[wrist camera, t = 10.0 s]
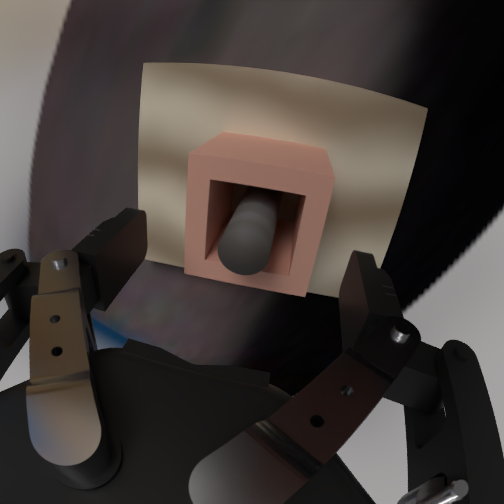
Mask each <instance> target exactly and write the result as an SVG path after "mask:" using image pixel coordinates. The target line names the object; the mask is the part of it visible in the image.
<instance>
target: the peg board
mask: <svg viewBox="0 0 504 504" xmlns="http://www.w3.org/2000/svg"><path fill="white" fill-rule="evenodd" d="M427 110H428V108H425V107H422V106H419V105H416V104H413V103H410V102H407V101H404V100H401V99H398V98H394V97H391V96H388V95H384V94H381V93H377V92H374V91H370V90H367V89H363V88H359V87H355V86H351V85H347V84H342V83H338V82H334V81H329V80H324V79H319V78H314V77H309V76H304V75H298V74H292V73H286V72H279V71H273V70H265V69H257V68H249V67H239V66H228V65H215V64H196V63H144V64H143V75H142V87H141V101H140V118H139V145H138V209H139V210H144V211H145V212H146V216H147V241H148V248H147V254H146V257H145V259H146V260H151V261H156V262H160V263H165V264H170V265H174V266H179V267H184V259H185V218H186V194H187V174H188V158H189V153H190V152H192V151H193V150H195V149H196V148H198V147H199V146H201V145H202V144H204V143H206V142H207V141H209V140H210V139H212V138H213V137H215V136H217V135H218V134H220V133H222V132H230V133H237V134H245V135H252V136H259V137H265V138H271V139H277V140H283V141H289V142H295V143H300V144H305V145H310V146H316V147H320V148H325V149H326V151H327V154H328V157H329V160H330V163H331V166H332V169H333V172H334V175H335V182H334V186H333V190H332V195H331V199H330V203H329V207H328V212H327V216H326V220H325V224H324V228H323V232H322V236H321V240H320V244H319V248H318V251H317V255H316V259H315V263H314V266H313V270H312V274H311V278H310V281H309V285H308V288H307V292H310V293H316V294H321V295H327V296H333V297H338V298H339V290H340V286H341V283H342V280H343V277H344V274H345V271H346V268H347V265H348V262H349V259H350V256H351V254H352V252H353V251H354V250H356V251H361V252H366V253H371V254H373V255H374V258H375V262H376V265H377V268H380V267H381V265H382V262H383V259H384V257H385V254H386V251H387V249H388V246H389V243H390V240H391V237H392V235H393V232H394V229H395V226H396V223H397V220H398V217H399V214H400V211H401V208H402V204H403V201H404V198H405V195H406V191H407V188H408V185H409V181H410V178H411V174H412V171H413V167H414V164H415V160H416V156H417V152H418V148H419V144H420V140H421V136H422V132H423V128H424V123H425V119H426V114H427ZM298 198H299V194H295V193H290V192H284V191H279V190H273V189H268V188H262V187H256V186H250V185H244V184H238V183H234V188H233V197H232V206H231V212H234V214H233V216H232V218H231V220H230V222H229V224H228V226H227V228H226V230H225V232H224V234H223V236H222V238H221V240H220V242H219V244H218V256H219V259H220V261H221V263H222V264H223V265H224V266H225V267H226V268H227V269H228V270H230V271H231V272H233V273H236V274H239V275H253V274H256V273H258V272H260V271H261V270H263V269H264V268H265V267H266V265H267V263H268V261H269V257H270V252H271V247H272V242H273V237H274V232H275V228H276V223H277V220H282V221H287V222H292V223H294V218H295V213H296V208H297V203H298Z"/></svg>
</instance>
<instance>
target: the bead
mask: <svg viewBox="0 0 504 504" xmlns="http://www.w3.org/2000/svg"><path fill="white" fill-rule="evenodd" d="M334 182H335V175H334V172H333V169H332V166H331V163H330V160H329V157H328V154H327V151H326V149H325V148H320V147H316V146H310V145H305V144H300V143H295V142H289V141H283V140H277V139H271V138H265V137H259V136H252V135H245V134H237V133H230V132H222V133H220V134H218V135H217V136H215V137H213V138H212V139H210V140H209V141H207V142H206V143H204V144H202V145H201V146H199V147H198V148H196V149H195V150H193V151H192V152H190V153H189V158H188V174H187V194H186V218H185V259H184V274H189V275H194V276H198V277H203V278H208V279H213V280H218V281H223V282H228V283H233V284H238V285H243V286H248V287H254V288H259V289H264V290H269V291H275V292H280V293H285V294H291V295H296V296H302V297H305V295H306V292H307V288H308V285H309V281H310V278H311V274H312V270H313V266H314V263H315V259H316V255H317V251H318V248H319V244H320V240H321V236H322V232H323V228H324V224H325V220H326V216H327V212H328V207H329V203H330V199H331V195H332V190H333V186H334ZM234 183H238V184H244V185H250V186H256V187H262V188H268V189H273V190H279V191H284V192H290V193H295V194H299V198H298V203H297V208H296V213H295V218H294V223H292V222H287V221H282V220H277V223H276V228H275V232H274V237H273V242H272V247H271V252H270V257H269V261H268V263H267V265H266V267H265V268H264V269H263V270H261V271H260V272H258V273H256V274H253V275H239V274H236V273H233V272H231V271H230V270H228V269H227V268H226V267H225V266H224V265H223V264H222V263H221V261H220V259H219V256H218V244H219V242H220V240H221V238H222V236H223V234H224V232H225V230H226V228H227V226H228V224H229V222H230V220H231V218H232V216H233V214H234V212H231V206H232V197H233V188H234Z"/></svg>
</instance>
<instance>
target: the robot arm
mask: <svg viewBox="0 0 504 504" xmlns="http://www.w3.org/2000/svg"><path fill="white" fill-rule="evenodd" d="M147 248H148V241H147V216H146V212H145V211H144V210H139V209H133V208H125V209H124V210H123V211H122V212H121V213H119V214H118V215H117V216H116V217H115V218H114V217H113V218H111V219H109V220H106V221H104V222H102V223H101V224H100V225H99V226H98V227H97V228H95V230H93V231H92V232H91V233H90V234H89V235H87V236H86V237H85V238H84V239H83V240H82V241H81V242H80V243H78V244H77V245H76V246H75V247H74V248H73V249H72V250H66V249H63V250H57V251H54V252H51V253H49V254H48V255H46V256H45V257H44V258H43V259H42V261H41V262H27V260H26V257H25V253H24V252H23V251H22V250H20V249H9V250H7V251H4V252H2V253H0V301H1V300H2V299H3V298H5V300H6V303H7V305H8V308H9V309H8V310H7V312H6V313H5V314H4V315H3V316H2V318H1V319H0V380H1V379H2V377H3V376H4V374H5V372H6V371H7V369H8V368H9V366H10V365H11V363H12V362H13V360H14V359H15V357H16V356H17V354H18V353H19V352H20V350H21V349H22V347H23V346H24V344H25V343H26V341H27V340H28V338H29V337H30V341H29V345H30V346H29V352H30V353H29V354H30V355H29V359H30V379H29V380H27V381H24V382H22V383H20V384H17V385H15V386H13V387H11V388H8V389H6V390H4V391H1V392H0V504H376V503H375V502H374V501H373V500H372V498H371V497H370V496H369V494H367V492H366V491H365V489H364V488H363V487H362V486H361V484H360V483H359V482H358V481H357V479H356V478H355V477H354V475H353V474H352V473H351V471H350V470H349V469H348V467H347V466H346V465H345V464H344V462H343V461H342V460H341V458H340V457H339V456H338V454H337V453H336V452H337V451H338V450H339V449H340V448H341V447H342V446H343V445H344V444H345V442H346V441H347V440H348V439H349V438H350V437H351V436H352V434H353V433H354V432H355V431H356V430H357V428H358V427H359V426H360V425H361V424H362V423H363V421H364V420H365V419H366V418H367V417H368V415H369V414H370V413H371V412H372V410H373V409H374V408H375V406H376V405H377V404H378V403H379V401H380V400H381V399H382V397H384V398H386V399H389V400H392V401H394V402H397V403H400V404H402V405H404V414H405V425H406V441H407V460H408V493H407V494H405V495H404V496H403V497H402V498H401V499H400V500H399V501H398V503H397V504H504V458H503V452H502V447H501V442H500V437H499V433H498V428H497V424H496V420H495V416H494V412H493V408H492V405H491V401H490V397H489V394H488V391H487V387H486V384H485V381H484V377H483V374H482V371H481V368H480V365H479V362H478V359H477V357H476V354H475V353H474V351H473V350H472V349H471V348H470V347H469V346H468V345H466V344H465V343H463V342H461V341H458V340H449V341H447V342H446V343H445V344H444V346H443V347H442V348H441V349H439V348H437V347H434V346H431V345H429V344H426V343H424V342H422V341H421V336H420V333H419V331H418V330H417V328H416V327H415V326H414V325H413V324H412V323H411V322H409V321H408V320H406V319H404V317H403V314H402V311H401V307H400V304H399V301H398V298H397V296H396V292H395V289H394V286H393V283H392V280H391V278H390V276H389V275H388V274H387V273H386V272H385V271H384V270H383V269H380V268H377V265H376V262H375V258H374V255H373V254H371V253H366V252H361V251H356V250H354V251H353V252H352V254H351V256H350V259H349V262H348V265H347V268H346V271H345V274H344V277H343V280H342V283H341V286H340V290H339V309H340V320H341V332H342V346H343V353H342V354H341V355H340V356H339V357H338V358H337V359H336V360H335V361H334V362H333V363H332V364H330V365H329V366H328V367H327V368H326V369H325V370H324V371H323V372H322V373H321V374H319V375H318V376H317V377H316V378H315V379H314V380H313V381H312V382H310V383H309V384H308V385H307V386H306V387H305V388H304V389H302V390H301V391H300V392H299V393H298V394H296V395H295V396H294V397H292V396H290V395H289V394H287V393H286V392H285V391H283V390H281V389H279V388H278V387H276V386H273V385H271V384H269V379H270V373H268V372H263V371H258V370H252V369H247V368H242V367H238V366H222V365H195V364H191V363H189V362H187V361H185V360H183V359H181V358H179V357H177V356H175V355H173V354H171V353H169V352H168V351H166V350H164V349H162V348H159V347H156V346H152V345H149V344H145V343H142V342H139V341H135V340H132V339H129V338H128V340H127V342H126V344H125V345H124V347H123V348H107V349H100V350H98V349H97V344H96V339H95V334H94V328H93V322H92V317H91V313H90V312H91V310H92V309H93V308H95V309H99V310H102V311H106V309H107V308H108V307H109V305H110V304H111V303H112V301H113V300H114V299H115V297H116V296H117V295H118V293H119V292H120V291H121V289H122V288H123V287H124V285H125V284H126V283H127V281H128V280H129V279H130V277H131V276H132V275H133V273H134V272H135V271H136V269H137V268H138V267H139V266H140V264H141V263H142V262H143V260H144V259H145V257H146V254H147ZM444 408H445V411H444ZM445 413H446V417H445Z"/></svg>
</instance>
